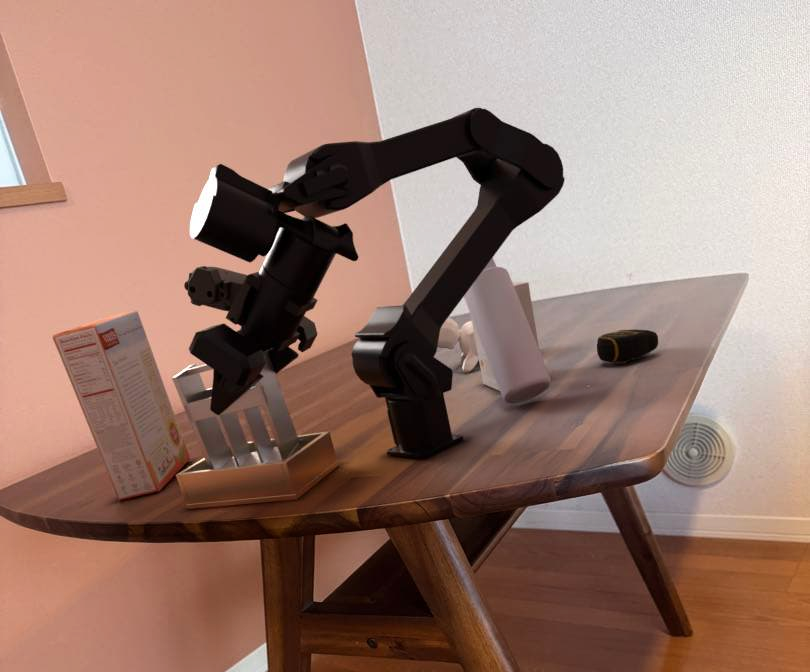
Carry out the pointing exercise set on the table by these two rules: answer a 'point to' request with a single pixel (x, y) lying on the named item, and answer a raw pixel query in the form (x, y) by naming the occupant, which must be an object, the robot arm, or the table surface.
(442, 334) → the beige lumpy shape
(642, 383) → the table surface
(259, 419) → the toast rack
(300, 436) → the copper metal tray
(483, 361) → the small box
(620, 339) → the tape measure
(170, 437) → the cracker box
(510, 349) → the spray bottle
